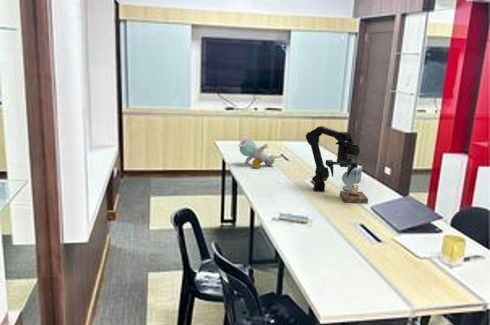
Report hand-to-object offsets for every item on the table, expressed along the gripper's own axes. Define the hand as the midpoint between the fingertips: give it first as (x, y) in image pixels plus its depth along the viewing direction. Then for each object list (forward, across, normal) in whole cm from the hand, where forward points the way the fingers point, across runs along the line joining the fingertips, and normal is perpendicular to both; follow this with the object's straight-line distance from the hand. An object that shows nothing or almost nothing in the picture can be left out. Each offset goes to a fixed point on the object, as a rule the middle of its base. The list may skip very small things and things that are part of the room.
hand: (339, 176), depth 280 cm
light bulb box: (+13, +20, +37) cm, 44 cm away
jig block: (+13, +9, -4) cm, 16 cm away
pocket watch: (+13, +12, +16) cm, 24 cm away
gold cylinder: (+13, +9, -4) cm, 16 cm away
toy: (+13, -48, +66) cm, 83 cm away
